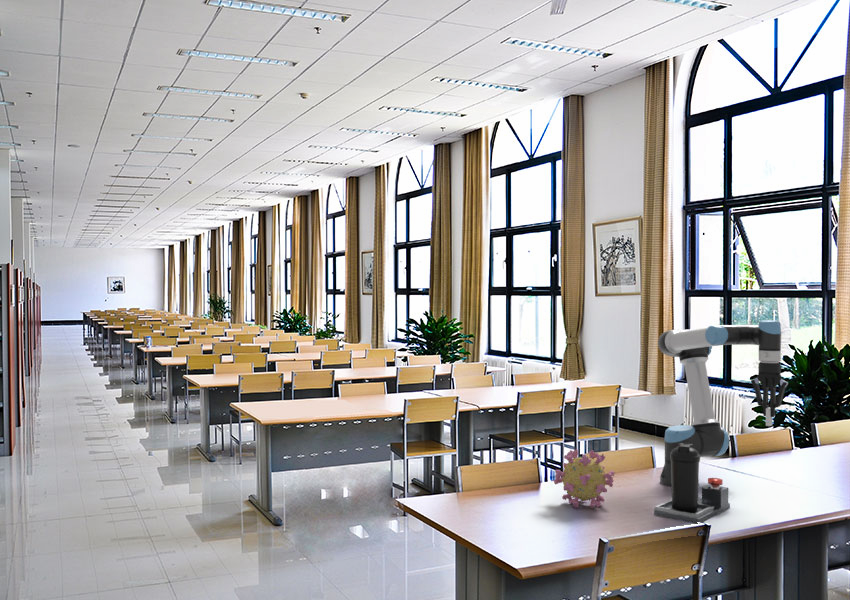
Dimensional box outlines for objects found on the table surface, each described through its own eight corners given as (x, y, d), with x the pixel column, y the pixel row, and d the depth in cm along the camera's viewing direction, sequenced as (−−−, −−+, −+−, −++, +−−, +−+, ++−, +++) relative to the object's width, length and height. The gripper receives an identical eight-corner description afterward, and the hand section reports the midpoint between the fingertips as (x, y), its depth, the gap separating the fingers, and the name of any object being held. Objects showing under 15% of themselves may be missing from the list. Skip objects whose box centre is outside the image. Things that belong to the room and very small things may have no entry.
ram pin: (705, 501, 278) (705, 479, 278) (710, 498, 282) (711, 477, 282) (719, 503, 275) (719, 481, 275) (724, 501, 279) (724, 479, 279)
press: (654, 514, 270) (654, 493, 270) (687, 499, 291) (687, 479, 291) (698, 523, 259) (698, 501, 259) (729, 507, 280) (730, 486, 280)
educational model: (576, 494, 297) (577, 443, 297) (627, 505, 281) (628, 451, 281) (540, 505, 281) (540, 451, 281) (592, 518, 265) (593, 461, 265)
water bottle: (701, 507, 273) (701, 443, 273) (698, 515, 264) (698, 448, 264) (671, 504, 278) (672, 441, 278) (667, 511, 268) (668, 446, 268)
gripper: (747, 361, 286) (747, 424, 286) (784, 363, 277) (784, 428, 277) (755, 360, 291) (754, 422, 291) (791, 362, 282) (790, 426, 283)
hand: (769, 425), depth 284 cm, fingers closed
